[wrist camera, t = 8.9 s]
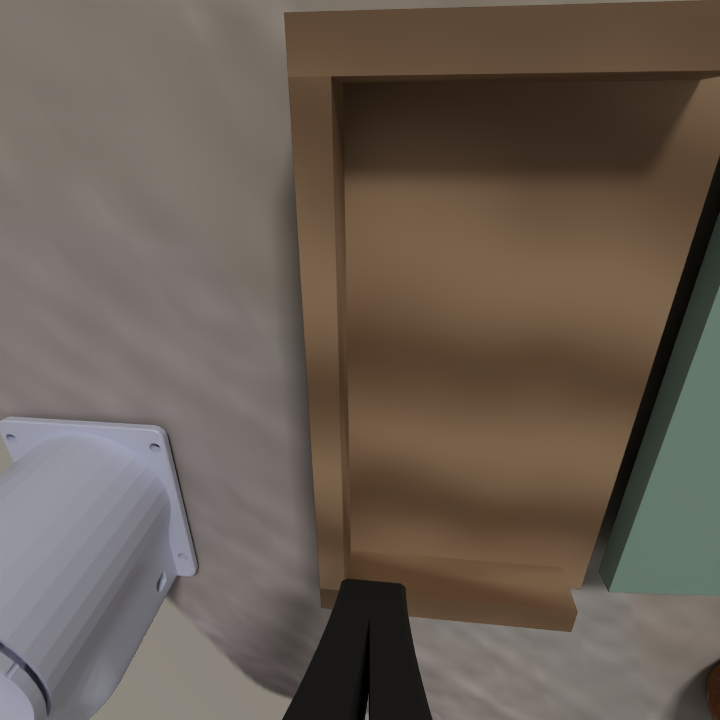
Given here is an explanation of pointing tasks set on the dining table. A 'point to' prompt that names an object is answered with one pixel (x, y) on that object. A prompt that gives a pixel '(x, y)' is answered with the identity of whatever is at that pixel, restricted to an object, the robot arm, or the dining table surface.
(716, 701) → the bread roll
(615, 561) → the panel
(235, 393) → the dining table surface
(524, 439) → the tray
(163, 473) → the robot arm
